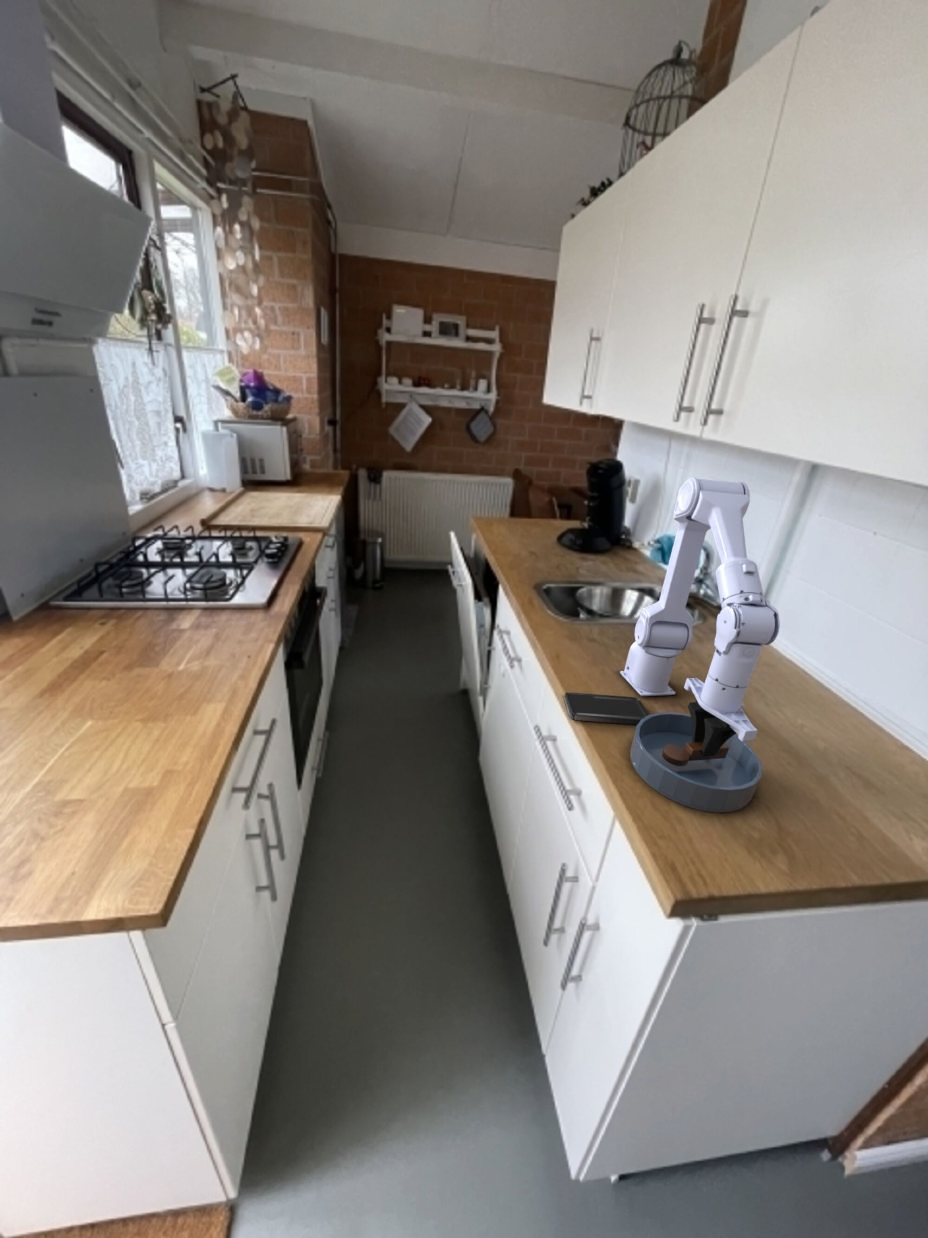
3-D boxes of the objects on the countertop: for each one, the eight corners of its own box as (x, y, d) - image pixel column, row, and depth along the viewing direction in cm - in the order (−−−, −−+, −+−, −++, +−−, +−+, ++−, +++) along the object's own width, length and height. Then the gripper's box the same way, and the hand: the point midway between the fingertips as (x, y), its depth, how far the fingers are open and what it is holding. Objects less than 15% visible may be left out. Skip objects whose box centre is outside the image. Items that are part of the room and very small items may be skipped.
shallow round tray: (609, 735, 91) (615, 715, 89) (704, 729, 95) (711, 709, 94) (670, 818, 74) (678, 795, 72) (781, 806, 78) (791, 784, 77)
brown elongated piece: (670, 767, 81) (674, 756, 80) (657, 750, 84) (660, 740, 83) (729, 762, 83) (733, 751, 82) (713, 746, 87) (717, 736, 86)
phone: (651, 721, 94) (571, 714, 94) (650, 725, 95) (570, 719, 94) (638, 697, 102) (564, 691, 101) (637, 702, 102) (563, 696, 102)
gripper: (786, 703, 72) (755, 778, 78) (720, 654, 85) (697, 721, 91) (743, 706, 71) (715, 782, 76) (682, 655, 84) (662, 723, 89)
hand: (703, 749), depth 83 cm, fingers closed on brown elongated piece, 2 cm apart
